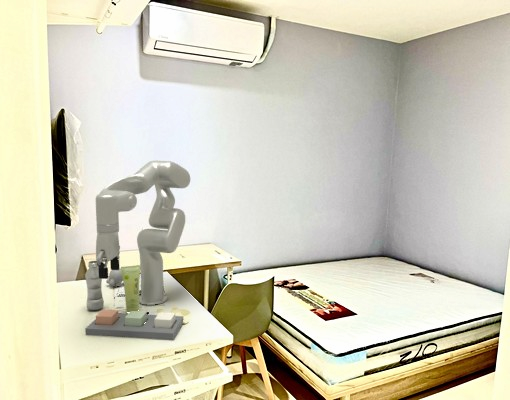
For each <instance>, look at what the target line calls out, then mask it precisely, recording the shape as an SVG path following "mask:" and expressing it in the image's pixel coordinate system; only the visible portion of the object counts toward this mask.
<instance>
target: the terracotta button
mask: <svg viewBox="0 0 510 400" xmlns="http://www.w3.org/2000/svg"><path fill="white" fill-rule="evenodd" d="M118 313H119V309H101V311H99V312H98V313H97V314H96V315H95V319H96V325H113V324H114V323H115V322H116V321H117V320H118V319H119V316H118Z"/></svg>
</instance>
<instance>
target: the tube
mask: <svg viewBox="0 0 510 400" xmlns="http://www.w3.org/2000/svg"><path fill="white" fill-rule="evenodd" d="M120 268H121V270H122V275H123V281H122V282H123V288H124V289H123V290H124V298H125V311H126V313H127V312H130V311H138V310H139V311H140V303H139V296H140V280H141V273H140V268H141V265H140V264H138V265H129V266H128V265H127V266H120Z"/></svg>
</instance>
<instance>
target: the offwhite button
mask: <svg viewBox="0 0 510 400" xmlns="http://www.w3.org/2000/svg"><path fill="white" fill-rule="evenodd" d="M156 315H157V316H156V318H155V319H154V322H155V328H170V329H171V328H172V327H173V325H174V323H175V316H176V313H175V312H162V311H159V313H158V314H156Z"/></svg>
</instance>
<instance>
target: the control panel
mask: <svg viewBox="0 0 510 400" xmlns="http://www.w3.org/2000/svg"><path fill="white" fill-rule="evenodd" d="M127 315H128V313H127V312H126V313H125V312H123V313H122V312H118V316H119V319H118V320H117V321H116V322H115V323H114V324H113V325H96V318H95V319H94V320H93V321H92V322H90V323H89V324H88V325H87V326H86V327H85V329H84V332H85V333H84V334H85V336H97V337H111V338H112V337H113V338H131V339H133V338H134V339H148V340H149V339H150V340H164V341H165V340H166V341H167V340H169V341H173V340H175V338H176V336H177V334H178V332H179V331H180V329H181V328H182V326H183V324H184V323H183V320H184V316H182V315H175V323H174V325H173V327H172V328H171V329H170V328H155V322H154V319H155V318H156V316H157V315H158V314H147V321H146V323H145V324H144V325H143V326H142V327H133V326H125V317H126V316H127Z"/></svg>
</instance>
